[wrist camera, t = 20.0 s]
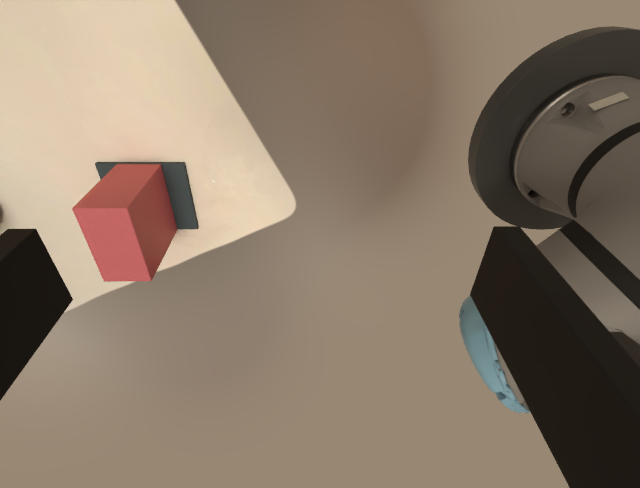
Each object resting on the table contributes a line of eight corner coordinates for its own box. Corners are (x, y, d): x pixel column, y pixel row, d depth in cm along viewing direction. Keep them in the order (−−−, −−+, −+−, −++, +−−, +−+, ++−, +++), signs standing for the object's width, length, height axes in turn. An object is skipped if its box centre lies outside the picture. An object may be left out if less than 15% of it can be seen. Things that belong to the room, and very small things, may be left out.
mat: (184, 162, 43) (183, 163, 42) (198, 227, 48) (197, 229, 48) (96, 162, 42) (94, 163, 42) (120, 227, 47) (118, 229, 47)
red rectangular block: (161, 163, 42) (127, 208, 34) (177, 229, 47) (151, 281, 39) (116, 163, 42) (71, 208, 34) (138, 229, 47) (103, 281, 39)
